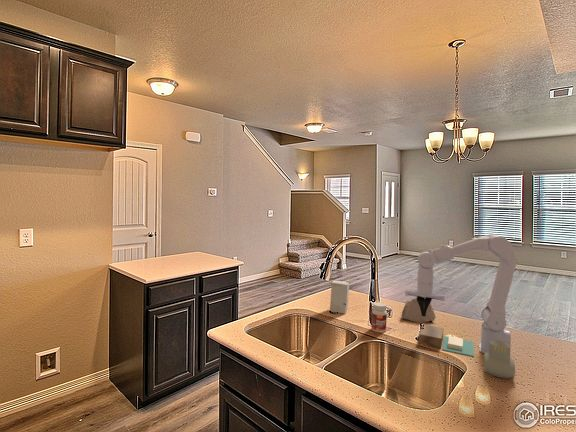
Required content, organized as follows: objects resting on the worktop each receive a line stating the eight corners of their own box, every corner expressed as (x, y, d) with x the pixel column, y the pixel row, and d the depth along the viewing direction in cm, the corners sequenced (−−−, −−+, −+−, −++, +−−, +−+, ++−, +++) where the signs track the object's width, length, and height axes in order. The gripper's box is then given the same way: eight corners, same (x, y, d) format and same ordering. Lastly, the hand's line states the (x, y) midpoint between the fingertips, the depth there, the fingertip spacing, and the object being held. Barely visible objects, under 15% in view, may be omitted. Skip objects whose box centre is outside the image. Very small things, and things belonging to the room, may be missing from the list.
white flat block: (449, 336, 135) (448, 339, 135) (447, 343, 128) (447, 347, 128) (463, 338, 133) (462, 342, 133) (462, 346, 126) (462, 350, 126)
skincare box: (329, 311, 167) (330, 282, 166) (332, 308, 172) (333, 279, 172) (346, 314, 164) (347, 284, 163) (348, 310, 170) (349, 281, 169)
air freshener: (515, 384, 104) (516, 353, 103) (484, 377, 108) (485, 347, 107) (511, 369, 113) (513, 340, 113) (483, 363, 117) (485, 335, 117)
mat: (473, 342, 134) (473, 341, 134) (473, 356, 122) (473, 355, 122) (444, 336, 139) (444, 335, 139) (442, 350, 127) (442, 349, 127)
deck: (442, 337, 138) (443, 328, 138) (440, 348, 128) (441, 338, 128) (422, 333, 142) (422, 324, 142) (418, 344, 132) (419, 334, 131)
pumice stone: (401, 320, 157) (402, 299, 157) (401, 315, 165) (401, 295, 164) (436, 324, 153) (437, 303, 152) (434, 319, 160) (435, 298, 160)
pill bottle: (376, 333, 141) (377, 307, 140) (368, 328, 147) (369, 302, 146) (389, 332, 143) (390, 306, 142) (380, 326, 149) (381, 301, 148)
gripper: (404, 281, 133) (403, 315, 134) (444, 287, 126) (442, 322, 127) (407, 278, 139) (406, 310, 140) (445, 283, 133) (444, 316, 133)
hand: (423, 315), depth 134 cm, fingers closed
